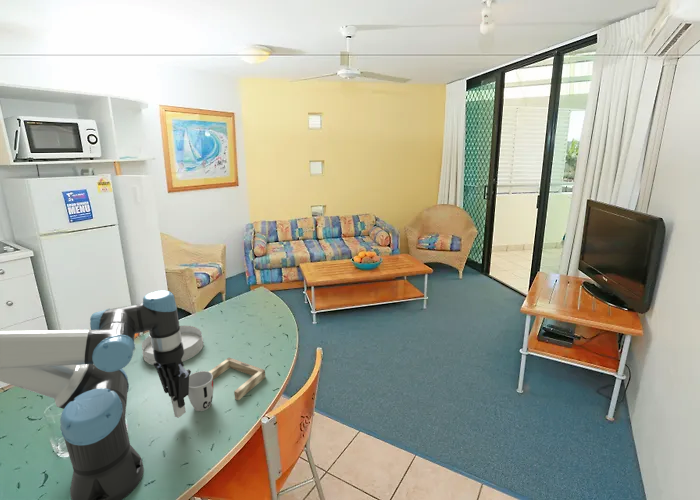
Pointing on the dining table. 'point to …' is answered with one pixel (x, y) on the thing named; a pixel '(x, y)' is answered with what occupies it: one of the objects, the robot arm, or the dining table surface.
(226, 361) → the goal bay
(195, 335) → the dish
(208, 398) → the cup
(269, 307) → the dining table surface
